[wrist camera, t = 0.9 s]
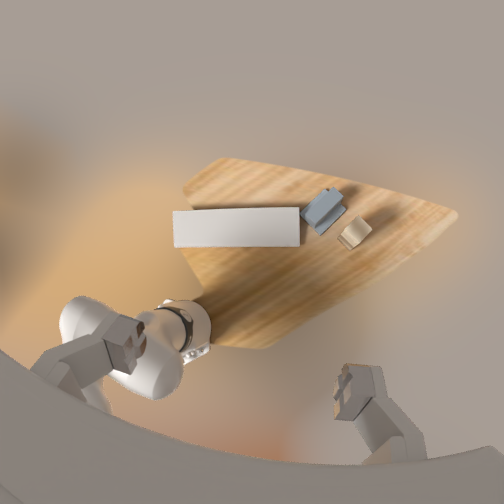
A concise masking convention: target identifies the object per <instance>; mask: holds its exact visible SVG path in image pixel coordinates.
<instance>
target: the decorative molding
mask: <svg viewBox="0 0 504 504" xmlns="http://www.w3.org/2000/svg"><path fill="white" fill-rule="evenodd" d="M173 231H174V247H300V230H299V207H274V208H235V209H209V210H189V211H173Z"/></svg>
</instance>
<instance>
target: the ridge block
mask: <svg viewBox="0 0 504 504" xmlns="http://www.w3.org/2000/svg"><path fill="white" fill-rule="evenodd" d="M343 197H344V196H343V195H342V194H341V193H340V192H339V191H338V190H336V189H335V188H334V187H333V188H331V189H330V190H329V191H327V190H326V189H324V190H323V191H322V192H321V193H320V194H319V195H318V196H317V197H316V198H315V199H314V200H313V201H312V202H310V203H309V204H308V205H307V206H306V207H305V208H304V209H303V210H302V211H301V212H300V213H299V215H300V216H301V217H302V218H303V219H304V220H305V221H306V222H307V223H308V224H309V225H310V226H311V227H312V228H313V229H314V230H315V231H316V232H317V233H318V234H319V235H320V236H321V235H322V234H323V233H324V232H325V231H326V230H327V229H328V228H329V227H330V226H331V225H332V224H333V223H334V222H335V221H336V220H337V219H338V218H339V217H340V216H341V215H342V214H343V213H344V212H345V211H346V208H345V207H344V206H343V205H342V204H341V201H342V199H343Z"/></svg>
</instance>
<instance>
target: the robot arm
mask: <svg viewBox="0 0 504 504" xmlns="http://www.w3.org/2000/svg"><path fill="white" fill-rule="evenodd" d="M59 326H60V331H61V335H62V340H63V344H62V345H59V346H57V347H54V348H52V349H49V350H46V351H45V352H44V353H43V354H42V355H41V357H40V358H39V359H38V360H37V362H36V363H35V364H34V365H33V366H32V368H31V369H30V370H29V369H27V368H26V367H24V366H23V365H21V364H20V363H18V362H17V361H16V360H14V359H13V358H11V357H10V356H9V355H7V354H6V353H5V352H3V351H2V350H1V349H0V504H504V455H503V454H501V453H500V452H499V451H498V450H497V449H496V448H494V447H492V446H485V447H481V448H478V449H474V450H470V451H466V452H463V453H457V454H453V455H448V456H443V457H438V458H431V459H427V453H426V447H425V442H424V436H423V433H422V432H421V431H420V430H419V429H418V428H417V427H416V425H415V424H414V423H413V422H412V421H411V420H410V419H409V418H408V417H407V415H406V414H405V413H404V412H403V411H402V410H401V409H400V408H399V407H398V405H397V404H396V403H395V402H394V401H393V400H392V399H391V398H388V396H387V391H386V386H385V381H384V376H383V372H382V368H381V367H380V366H368V365H358V364H348V363H346V364H345V365H344V366H343V368H342V374H341V375H339V376H338V377H337V379H336V381H335V384H334V389H333V398H334V399H335V400H336V401H337V402H336V403H335V405H334V420H345V421H353V423H354V425H355V426H356V428H357V429H358V431H359V433H360V434H361V435H362V437H363V439H364V440H365V442H366V444H367V445H368V447H369V449H370V450H371V452H372V453H373V454H372V455H370V456H369V457H368V458H367V459H366V460H364V461H363V462H362V465H325V464H308V463H295V462H285V461H277V460H270V459H263V458H257V457H251V456H245V455H240V454H235V453H230V452H225V451H221V450H216V449H211V448H208V447H204V446H200V445H196V444H193V443H189V442H186V441H182V440H179V439H175V438H172V437H169V436H166V435H163V434H160V433H157V432H154V431H151V430H148V429H146V428H143V427H140V426H138V425H135V424H132V423H130V422H127V421H125V420H123V419H120V418H118V417H116V416H113V411H112V407H111V404H110V402H109V400H108V398H107V397H106V395H105V393H104V389H103V377H104V376H105V375H108V376H109V377H110V378H112V379H113V380H115V381H116V382H118V383H119V384H120V385H122V386H124V387H125V388H127V389H128V390H130V391H132V392H134V393H136V394H139V395H141V396H144V397H147V398H149V399H152V400H160V399H163V398H166V397H168V396H169V395H171V394H172V393H173V392H174V391H175V390H176V389H177V388H178V386H179V385H180V383H181V381H182V378H183V373H184V365H185V364H187V363H189V362H191V361H193V360H195V359H197V358H199V357H200V356H202V355H204V354H206V353H208V352H209V351H210V341H209V338H210V334H211V322H210V318H209V316H208V314H207V312H206V311H205V310H204V308H203V307H202V306H200V305H199V304H197V303H196V302H193V301H189V300H181V301H175V300H172V299H166V300H165V301H164V302H163V304H161V305H159V306H158V308H157V309H154V310H150V311H143V312H141V313H139V314H138V315H136V316H135V317H134V318H131V317H128V316H125V315H122V314H120V313H118V312H117V311H116V310H114V309H112V308H111V307H109V306H108V305H106V304H105V303H102V302H100V301H97V300H95V299H92V298H89V297H86V296H78V297H76V298H74V299H72V300H71V301H70V302H68V304H67V305H66V306H65V307H64V309H63V311H62V313H61V316H60V323H59ZM201 349H203V352H202V351H201Z"/></svg>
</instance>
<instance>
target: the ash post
mask: <svg viewBox="0 0 504 504" xmlns="http://www.w3.org/2000/svg"><path fill="white" fill-rule="evenodd" d="M371 231H372V228H371V227H370V226H369V225H368V224H367V223H366V222H365V221H364V220H363V219H362V218H361V217H360V216H359V215H358V216H357V217H356V218H355V219H354V220H353V221H352V222H351V223H350V224H349V225H348V226H347V227H346V228H345V229H344V231H343V232H342V233H341V235H340V236H339V237H338V240H339V241H340V242H341V243H342V244H343V245H344V246H345V247H346V248H347V249H348V250H349V251H350V250H351V249H353V248H354V247H355V246H357V245H358V244H359V243H360V242H361V241H362V240H363V239H364V238H365V237H366V236H367V235H368V234H369V233H370V232H371Z"/></svg>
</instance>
